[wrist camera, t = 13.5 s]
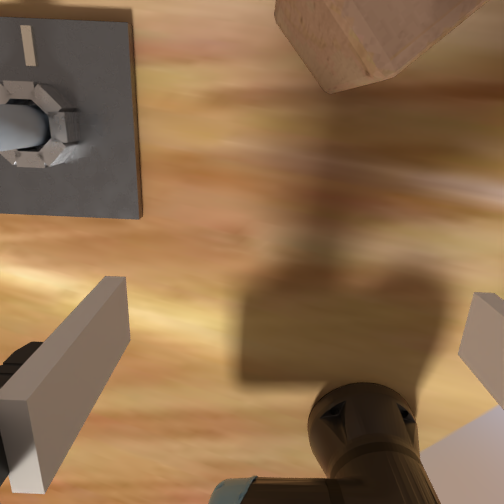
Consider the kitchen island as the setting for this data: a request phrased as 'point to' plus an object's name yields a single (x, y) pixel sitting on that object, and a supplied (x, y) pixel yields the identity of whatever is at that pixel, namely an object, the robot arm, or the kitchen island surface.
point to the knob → (23, 126)
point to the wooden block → (366, 35)
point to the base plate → (72, 118)
